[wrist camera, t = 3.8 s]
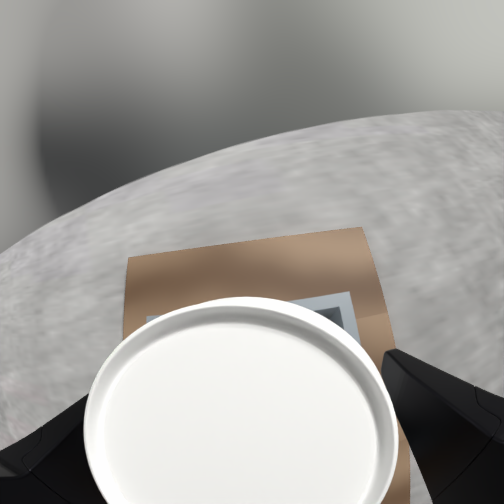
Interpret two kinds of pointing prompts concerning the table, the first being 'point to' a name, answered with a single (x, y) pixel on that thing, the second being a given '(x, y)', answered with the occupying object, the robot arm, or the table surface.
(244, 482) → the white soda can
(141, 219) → the table surface
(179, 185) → the table surface
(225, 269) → the brown slab
